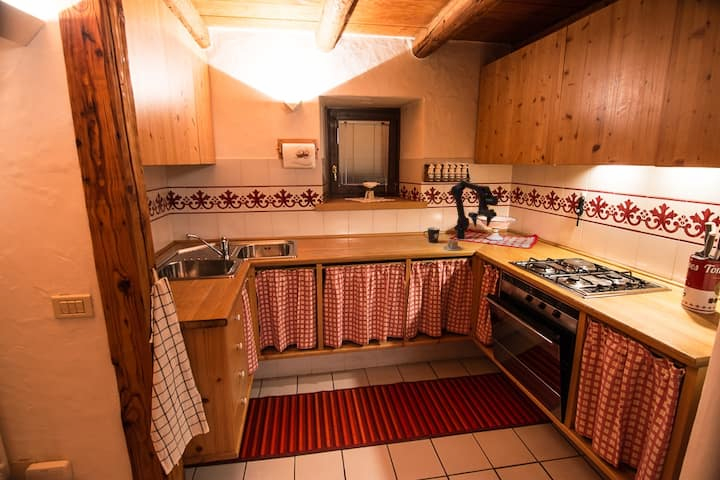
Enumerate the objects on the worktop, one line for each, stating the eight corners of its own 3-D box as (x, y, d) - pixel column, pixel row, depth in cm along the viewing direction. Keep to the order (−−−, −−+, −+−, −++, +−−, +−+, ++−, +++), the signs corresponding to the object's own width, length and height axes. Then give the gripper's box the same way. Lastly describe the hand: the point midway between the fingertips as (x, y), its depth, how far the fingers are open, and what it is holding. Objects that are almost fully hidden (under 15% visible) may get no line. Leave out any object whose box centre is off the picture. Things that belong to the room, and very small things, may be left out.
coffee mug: (438, 240, 259) (439, 227, 257) (439, 243, 251) (440, 229, 249) (422, 240, 261) (422, 227, 258) (423, 243, 252) (423, 229, 250)
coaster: (440, 246, 243) (440, 246, 243) (456, 245, 245) (456, 244, 245) (448, 251, 231) (448, 250, 231) (465, 250, 234) (465, 249, 233)
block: (447, 246, 240) (448, 239, 239) (453, 246, 241) (453, 239, 240) (451, 249, 235) (452, 241, 233) (457, 248, 235) (457, 241, 234)
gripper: (476, 206, 234) (475, 229, 238) (502, 205, 238) (500, 228, 242) (468, 204, 245) (467, 226, 249) (492, 203, 249) (491, 225, 252)
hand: (481, 226), depth 248 cm, fingers open, 9 cm apart
